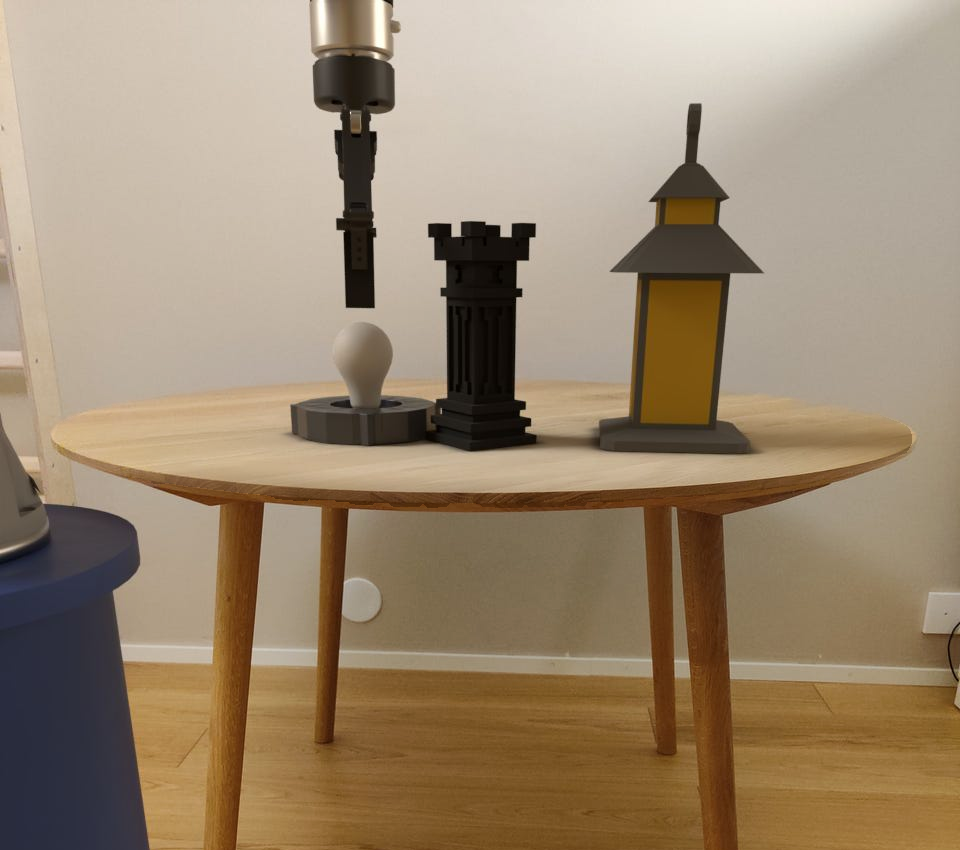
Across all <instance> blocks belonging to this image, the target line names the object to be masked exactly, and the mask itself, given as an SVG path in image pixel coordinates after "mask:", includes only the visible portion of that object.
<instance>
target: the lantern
mask: <svg viewBox="0 0 960 850" xmlns="http://www.w3.org/2000/svg"><path fill="white" fill-rule="evenodd" d="M702 111H703V105H702V102H700V103H698V102H697V103H696V102H695V103H692V102H691V103H689V105H688V109H687V118H686V143H685V153H684V154H685V155H684V163H682V164H680V165H679V166H678V167H677V168H676V169H675V170H674V171H673V172H672V174H671V175H670V176H669V177H668V178H667V180H666V181H665V182H664V183H663V184H662V185H661V187H659V189H658V190H657V191H656V192H655V193H654V194H653V196H652V197H651V198H650V199H649V200H648V203H656V204H655V221H654V227H653V228H652V229H651V230H649V232H647V234H646V235H645V236H644V237H642V238H641V239H640V241H638V242H637V244H636V245H635V246H634V247H633V248H631V250H630V251H629V252H627V253H626V255H624V257H622V258H621V259H620V260H619V261H618V262H617V263H616V264H615V265H614V266H613V267H612V268H611V269H610V270H609V273H617V274H618V273H619V274H620V273H621V274H623V273H625V274H626V273H627V274H628V273H629V274H631V273H632V274H634V273H637V279H636V293H635V310H634V327H633V343H632V361H631V376H630V390H629V391H630V392H629V405H628V408H629V409H628V416H621V417H611V418H601V419H599V420H598V437H599V446H600V449H602V450H604V451H612V452H642V453H643V452H647V453H648V452H650V453H686V454H687V453H689V454H690V453H691V454H692V453H693V454H729V455H730V454H732V455H733V454H734V455H739V454H748V453H749V452H750V443H751V441H750V440H749V439H748V438H747V437H746V436H745V435H744V434H743V433H742V432H741V430H739V428H738V427H737V426H736V425H735V424H734V423H732V422H729V421H726V420H719V419H718V409H719V398H720V387H721V379H722V378H721V377H722V369H723V368H722V366H723V357H724V344H725V335H726V326H727V325H726V324H727V314H728V304H729V293H730V285H731V284H730V283H731V274H765V272H764V271H763V270H762V269H761V268H760V266H758V264H757V263H756V262H755V261H754V260H753V259H752V258H751V257H750V256H749V255H748V254H747V252H745V251H744V250H743V249H742V247H740V245H739V244H738V243H737V242H736V241H735V240H734V239H733V238H732V237H731V236H730V235H729V234H728V232H726V231H725V230H724V229H723V228H722V226H720V224H719V222H720V212H721V203H722V202H724V201H726V200H728V199H730V196H729V195H728V193H727V192H726V191H725V190H724V189H723V187H721V185H720V184H719V183H718V182H717V180H716V179H715V178H714V177H713V176H712V174H711V173H710V172H709V171H708V170H707V168H705V165H702V164H700V163H699V162H698V150H699V137H700V132H701V125H702V124H701V123H702Z"/></svg>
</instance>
